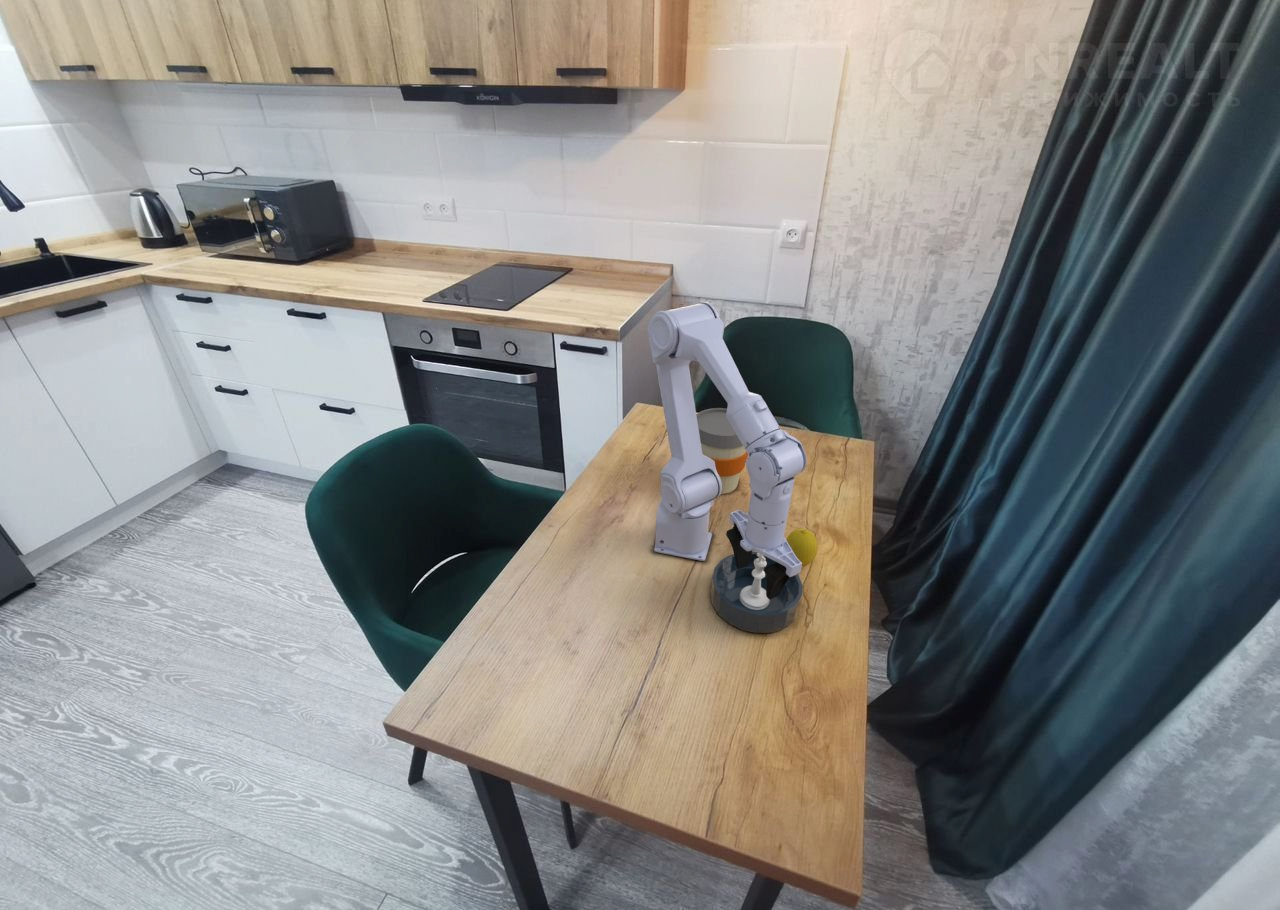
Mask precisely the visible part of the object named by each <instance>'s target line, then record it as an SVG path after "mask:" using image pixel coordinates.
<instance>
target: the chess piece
mask: <svg viewBox="0 0 1280 910" xmlns="http://www.w3.org/2000/svg"><path fill="white" fill-rule="evenodd" d="M757 556H758V557H759V558H757V559H755V560H754V566H755V569H754V570H753V571H752V576H753V577H755V578H754V581H753V584H752V585H750V586H746V587H744V588H743V589H742V590H741V593H740V596H739V598H740V601H741V603H742V604H743V605H744V606H746V607H747V608H750V609H753V610H761V609H764V608H766V607H767V606H768V605H769V603H770V599H768V598H767V596H766V590H765V589H763V588H762V587H761V579H762V578H764V577H765V572H764V571H763V570H764V567H766V565H767V562H766V558H765V557H764V556H763V555H762V554H760V553H757Z"/></svg>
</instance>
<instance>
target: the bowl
mask: <svg viewBox="0 0 1280 910" xmlns="http://www.w3.org/2000/svg"><path fill="white" fill-rule="evenodd" d="M757 553H758V552H756V551H752V555H751V560H750V563H749V565H748V566H746V567H743V568H741V569H738V568H737V567H736V562H735V557H734V553H731V554H729V555H728V556H726V557H724V558H723V559H721V560H720V561H719V562H718V563H717V564H716V566H715V567H714V570H713V573H712V579H711V587H710V588H711V589H710V599H711V603H712V606H713V607H714V609H715V611H716V612H717V614H718V615H719V616H720V617H721V618H723V619H724V620H725V621H726V622H727V623H728V624H730V625H732V626H734V627H736V628H738V629H740V630H742V631H745V632H751V633H755V634H765V633H766V634H767V633H769V634H770V633H775V632H778V631H782V630H783V629H785V628H787V627H788V626H789V625H791V624H793V622H795V619H796V618H797V616H798V614H799V611H800V607H801V603H802V598H803V587H804V585H803V583H802V580H801V578H800V575H799V574H797V575H794V576H792V577H791V578H790V579H789V580H788V581H787V583H786V584H785V586H784V587H783V589H782V591H781V592H780V594H779V596H777V597H775V598H773V599H770V603H769V605H768V606H767V607H766V608H764V609H761V610H753V609H750V608H747V607H746V606H744V605H743V604H742V603H741V601H740V598H739V596H740V593H741V590H742V589H743V588H744V587H746V586H750V585H752V584H753V581H754V578H755V577H753V576H752V571H753V570H754V569H755V566H754V560H755V559H757V558H759V557H758V556H757ZM763 556H764V555H763ZM764 557H765V558H766V562H767V565H766V567H767V566H769V565H771V564H775V562H776V561H774V560H772V559H770V558H768V557H766V556H764ZM763 571H764V570H763ZM764 572H765V571H764ZM761 587H762V588H763V589H765V590H766V588H767V578H766V573H765V577H764V578H762V579H761Z"/></svg>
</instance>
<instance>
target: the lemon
mask: <svg viewBox="0 0 1280 910" xmlns="http://www.w3.org/2000/svg"><path fill="white" fill-rule="evenodd" d="M785 539H786V540H787V542H788V544H789V546H790V547H791V549H792V551H793V552H794V554H795V556H796V557H797V558H798V560H799V561H800V562H802V567H806V566H809V565H810V564H812V563H813V562H814V561H815V560H816V559H815V558H816V556H817V554H818V540H817V537H816V535H815V534H814V533H813V532H812V531H810V530H809V529H807V528H797V529H793V530H792V531H791V532H790V533H789V534H788V536H787V537H786V538H785Z"/></svg>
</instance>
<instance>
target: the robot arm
mask: <svg viewBox="0 0 1280 910" xmlns="http://www.w3.org/2000/svg"><path fill="white" fill-rule="evenodd" d="M646 328H647V329H646V330H647V335H648V340H649V346H650V353H651V358H652V363H653V364H655V367H656V373H657V379H658V385H659V391H660V395H661V402H662V403H661V404H662V409H663V415H664V420H665V426H666V433H667V438H668V444H669V450H670V456H671V458H670V459H669V460H668V462H667V463H666V464H665V466H664V467H663V468H662V470H661V472H660V479H661V481H660V482H661V485H660V491H659V493H660V501H659V504H658V507H657V511H656V517H655V538H654V539H655V541H654V549H653V550H654V552H655V553H659V554H663V555H664V554H665V555H670V556H676V557H680V558H684V559H691V560H694V561H695V560H696V561H701V562H704V561H705V562H706V558H707V555H708V551H709V548H710V544H711V540H712V537H713V533H712V532H711V531H709V525H710V515H711V507H712V506H714V504H715V499H718V498H719V497H720V496H721V495H722V494H721V491H722V483H721V479H720V477H719V475H718V473H717V470H716V467H715V462H714V461H713V460H712V459H711V458H709V457H707V456H705V455H703V454H702V448H701V442H700V435H699V429H698V422H697V416H696V414H697V410H696V403H695V396H694V390H693V385H692V377H691V372H690V363H692V362H697V363H699V365H700V366H701V367H702V369H703V370H704V372H705V373H706V374H707V376H708V377H709V379H710V380H711V382H712V383H713V385H714V386H715V387H716V389H717V390H718V392H719V393H720V394H721V396H722V397H723V399H724V400H725V402H726V403H727V407H726V409H727V412H726V417H727V419H728V421H729V422H730V424H731V426H732V427H733V429H734V431H735V433H736V434H737V436H738V438H739V439H740V441H741V443H742V445H743V446H744V448H745V450H746V452H747V453H748V456H749V457H747V459H746V463H745V467H746V471H747V474H748V475H749V487H750V499H749V506H748V513H745V512H744V511H742V510H741V509H737V510H734V511H732V512H730V514H729V521H728V522H729V523H730V524H731V525H732V527H731V528H730V529H728V530H726V533H725V535H726V537H727V539H728V541H729V544H730V545H731V548H732V551H733V554H734V557H735V562H736V567H737V568H738V569H741V568H743V567H746V566H748V565H749V563H750V560H751V555H752V552H758V553H760V554H762V555H764V556H766V557H768V558H770V559H772V560H774V561H776V562H775V564H771V565H769V566H767V567H764V571H765V573H766V578H767V588H766V596H767V598H768V599H773V598H775V597H777V596H779V594H780V592H781V591H782V589H783V587H784V586H785V584H786V583H787V581H788V580H789V579H790V578H791V577H792V576H794V575H797V574H798V575H799V574H800V573H801V571H802V567H803V566H802V562H800V561H799V560H798V558H797V557H796V556H795V554H794V552H793V551H792V549H791V547H790V546H789V544H788V542H787V540H786V539H787V538H786V537H785V533H786V530H787V529H786V528H787V522H788V517H789V511H790V506H791V501H792V500H791V499H792V496H793V491H794V484H795V479H796V477H797V476H798V475H799V474H801V473H803V472H804V471H805V469H806V466H807V460H808V459H807V454H806V451H805V449H804V446H803V444H802V443H801V441H800V440H799V439H797V438H796V437H794V436H793V435H790V434H789V433H788V431H787V430H785V429H781V426H780V425H779V423H778V421H777V420H776V418H775V417H774V415H773V414H772V412H771V410H770V408H769V407H768V405H767V403H766V401H765V400H764V398H763V397H762V395H760V394H758V393H755V392H751V391H749V389H748V386H747V385H746V383H745V381H744V379H743V377H742V375H741V373H740V371H739V368H738V367H737V365H736V363H735V361H734V359H733V356H732V354H731V352H730V351H729V349H728V346H727V345H726V343H725V340H724V339H723V338H724V334H725V333H724V332H725V323H724V321H723V320H722V319H721V317H720V315H719V312H718V311H717V309H716V307H715V306H714V304H712V303H711V302H708V301H701V302H699V303H696V304H691V305H687V306H682V307H677V308H672V309H668V310H658V311H657V312H655V313H654V314H653V316H652V317H651V319H650V321H649V323H648V324H647V326H646Z"/></svg>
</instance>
